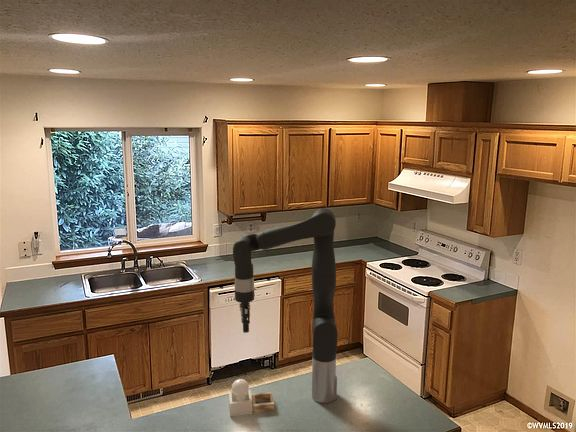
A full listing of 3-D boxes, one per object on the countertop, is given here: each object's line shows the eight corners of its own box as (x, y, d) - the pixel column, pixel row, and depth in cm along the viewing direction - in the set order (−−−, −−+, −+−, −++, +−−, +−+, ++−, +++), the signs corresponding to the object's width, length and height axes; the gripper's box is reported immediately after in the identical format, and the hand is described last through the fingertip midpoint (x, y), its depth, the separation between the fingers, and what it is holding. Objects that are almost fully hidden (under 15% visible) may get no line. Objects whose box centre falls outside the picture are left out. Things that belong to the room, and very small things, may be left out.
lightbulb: (246, 412, 170) (245, 385, 168) (230, 410, 171) (229, 383, 169) (251, 402, 176) (250, 376, 174) (235, 400, 177) (234, 374, 175)
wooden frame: (271, 398, 180) (271, 391, 180) (274, 410, 173) (274, 403, 172) (251, 400, 179) (251, 393, 179) (253, 413, 171) (253, 405, 171)
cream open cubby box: (250, 400, 179) (250, 388, 178) (252, 413, 171) (252, 401, 170) (229, 402, 178) (228, 390, 177) (230, 415, 170) (229, 403, 169)
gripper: (256, 294, 170) (256, 334, 173) (252, 281, 184) (253, 319, 187) (235, 295, 169) (236, 336, 172) (233, 282, 182) (234, 320, 186)
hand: (245, 327), depth 179 cm, fingers open, 8 cm apart
